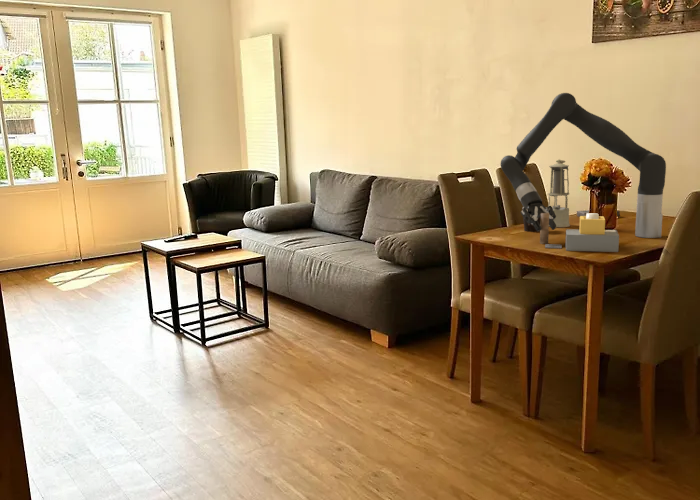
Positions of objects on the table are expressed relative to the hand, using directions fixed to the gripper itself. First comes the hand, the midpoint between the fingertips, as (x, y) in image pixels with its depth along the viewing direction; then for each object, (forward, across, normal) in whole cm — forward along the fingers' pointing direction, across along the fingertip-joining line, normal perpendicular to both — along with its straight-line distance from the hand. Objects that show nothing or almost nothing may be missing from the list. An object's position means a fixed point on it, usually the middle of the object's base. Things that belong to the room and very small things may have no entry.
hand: (547, 229), depth 249 cm
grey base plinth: (+14, +8, -6) cm, 18 cm away
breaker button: (+11, +9, -10) cm, 17 cm away
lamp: (-19, +34, +27) cm, 47 cm away
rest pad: (+8, -2, 0) cm, 8 cm away
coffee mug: (-14, +16, +23) cm, 31 cm away
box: (-25, +65, +34) cm, 78 cm away
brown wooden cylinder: (+3, 0, +5) cm, 6 cm away
